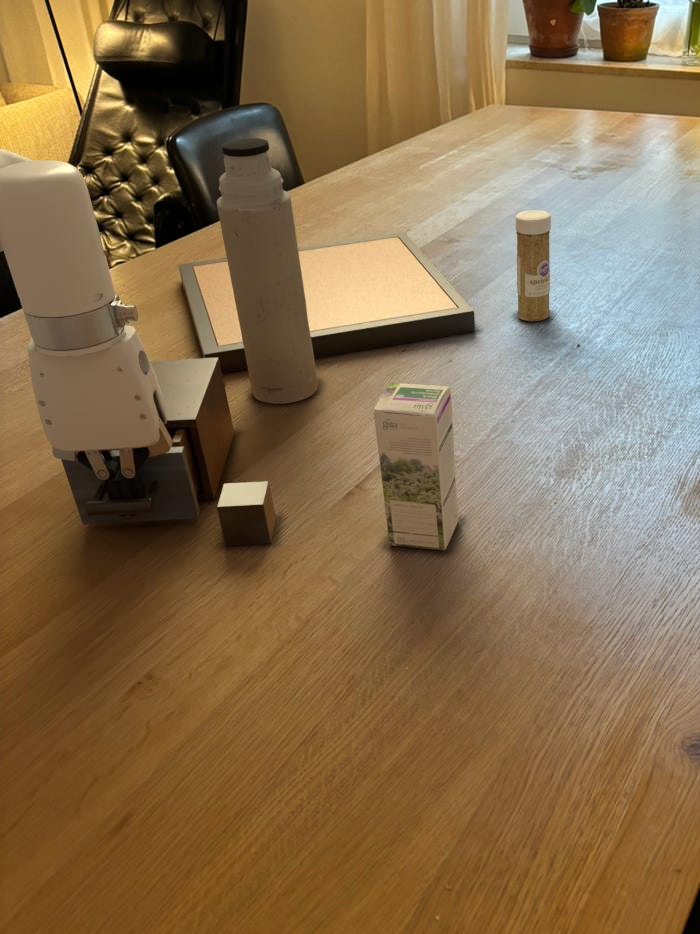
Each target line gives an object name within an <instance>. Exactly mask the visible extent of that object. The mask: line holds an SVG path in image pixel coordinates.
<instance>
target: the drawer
mask: <svg viewBox="0 0 700 934" xmlns="http://www.w3.org/2000/svg"><path fill="white" fill-rule="evenodd" d="M166 429H167V431H168V433H169V435H170V437H171V439H172V441H173V444H172V446H171V449H170V451H169V452H166V453H163V454H160V455H156V456H151V457H148V458H147V460H146V461H145V462H144V463H143V465H142V466H141V467H140V468H139V472H140V475H141V479H142V482H143V486H144V489H145V494H146V498H139V499H121V500H109V497H108V493H107V490H106V487H105V484H104V481H103V480H101V479H99V478H98V477H97V476H96V474H95V472H94V471H93V470H91V469H89V468H88V467H86V466H85V465H83V464H82V463H80V462H79V461H70V460H64V459H60V460H61V464H62V466H63V469H64V473H65V475H66V478H67V481H68V485H69V487H70V491H71V494H72V496H73V499H74V502H75V505H76V509H77V512H78V514H79V518H80V520H81V523H82V525H94V524H95V525H97V524H99V525H100V524H115V523H134V522H151V521H169V520H186V519H198V518H199V516H200V513H201V510H200V509H201V508H200V505H199V502H198V501H199V500H197V494H198V491H199V488H200V485H201V482H202V479H201V475H200V471H199V466H198V462H197V458H196V454H195V450H194V445H193V441H192V437H191V433H190V429H189V427H176V428H166ZM112 453H113V455H114V457H115V459H116V462H117V463H118V464H121V463H120V455H119V449H113V450H112ZM124 514H127V515H126V516H119V515H124ZM130 514H137V515H136V516H130Z"/></svg>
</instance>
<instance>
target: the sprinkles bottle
mask: <svg viewBox="0 0 700 934" xmlns="http://www.w3.org/2000/svg"><path fill="white" fill-rule="evenodd" d="M551 228H552V217H551V213H549V212H548V211H545V210H539V209H538V210H536V209H533V210H532V209H531V210H524V211H521V212H519V213H517V214H516V215H515V234H516V251H517V252H516V291H517V317H518V318H519V319H520V320H522V321H526V322H539V321H544V320H546V319H548V318H549V317H550V315H551V310H550V292H551V269H550V252H551V251H550V233H551V231H550V230H552V229H551Z"/></svg>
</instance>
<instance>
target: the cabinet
mask: <svg viewBox="0 0 700 934" xmlns="http://www.w3.org/2000/svg"><path fill="white" fill-rule="evenodd" d="M150 362H151V365H152V367H153V370H154V373H155V376H156V378H157V381H158V384H159V387H160V390H161V393H162V396H163V399H164V403H165V406H166V410H167V423H166V424H164V426H165V427H166V428H176V427H189V429H190V433H191V437H192V441H193V445H194V450H195V454H196V458H197V462H198V466H199V471H200V475H201V479H202V482H201V485H200V488H199V491H198V494H197V501H210V500H211V501H212V500H215V498H216V494H217V491H218V487H219V484H220V481H221V478H222V475H223V471H224V468H225V465H226V461H227V459H228V455H229V452H230V448H231V445H232V442H233V439H234V435H235V429H234V425H233V419H232V415H231V414H232V413H231V410H230V406H229V401H228V395H227V391H226V386H225V381H224V376H223V374H222V371H221V367H220V362H219V358H218V357H217V358H203V357H202V358H200V357H199V358H184V359H183V358H182V359H164V360H150Z"/></svg>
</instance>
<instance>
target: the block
mask: <svg viewBox="0 0 700 934" xmlns="http://www.w3.org/2000/svg"><path fill="white" fill-rule="evenodd" d="M271 490H272V489H271V485H270V482H269V481H268V480H264V481H263V480H262V481H245V482H228V483H226V482H225V483H223V484H222V488H221V492H220V495H219V497H218V502H217V505H216V512H217V517H218V519H219V520H218V521H219V525H220V528H221V533H222V537H223V540H224V546H225V547H236V546H250V545H252V546H254V545H268V544H269V545H270V544H272V541H273V536H274V530H275V526H276V522H277V521H276V520H277V516H276V512H275V506H274V501H273V495H272V491H271Z"/></svg>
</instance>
